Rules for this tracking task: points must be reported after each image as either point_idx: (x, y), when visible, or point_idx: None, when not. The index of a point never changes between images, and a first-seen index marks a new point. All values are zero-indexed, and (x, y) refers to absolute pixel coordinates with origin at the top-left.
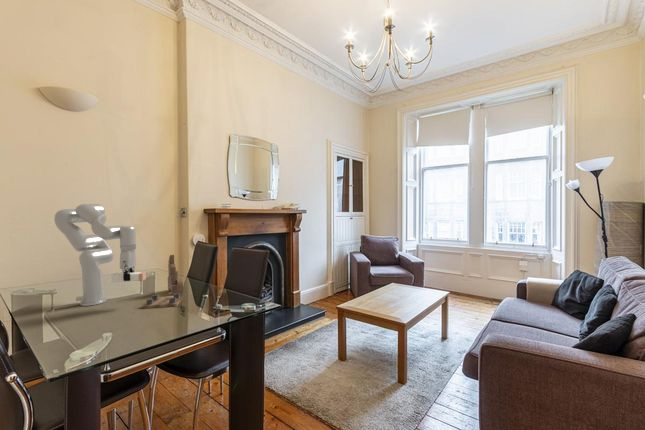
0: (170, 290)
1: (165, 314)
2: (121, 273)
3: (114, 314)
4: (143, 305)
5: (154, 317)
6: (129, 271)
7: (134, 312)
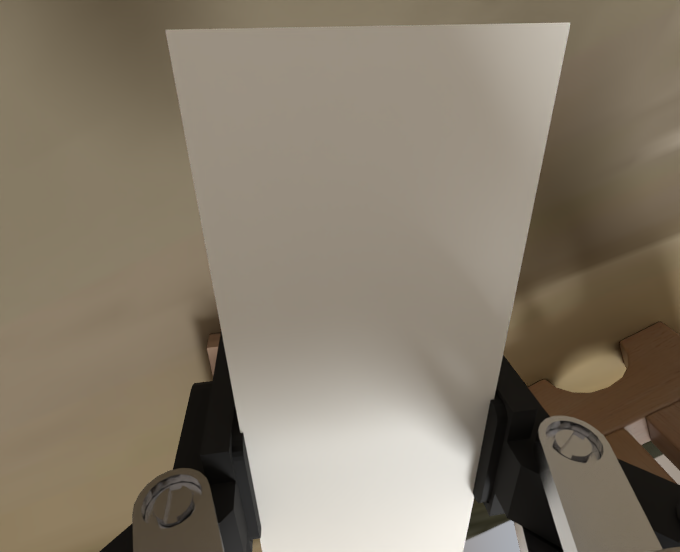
0: (626, 356)
1: (79, 510)
2: (434, 284)
3: (42, 180)
4: (215, 353)
5: (14, 482)
6: (509, 450)
7: (110, 322)
